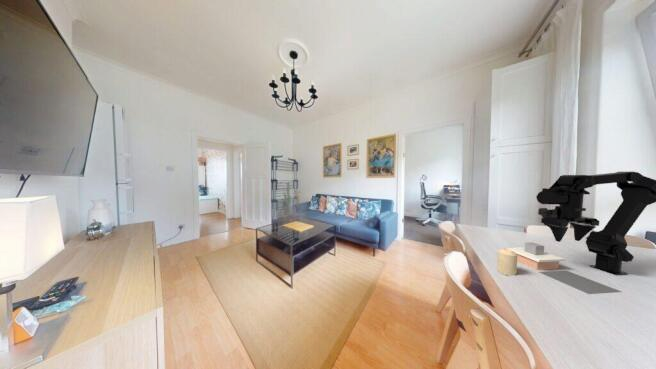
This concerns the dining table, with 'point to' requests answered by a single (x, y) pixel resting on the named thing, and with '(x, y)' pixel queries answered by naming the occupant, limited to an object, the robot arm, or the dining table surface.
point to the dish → (537, 263)
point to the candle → (507, 262)
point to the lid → (535, 253)
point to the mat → (579, 282)
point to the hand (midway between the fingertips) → (567, 241)
